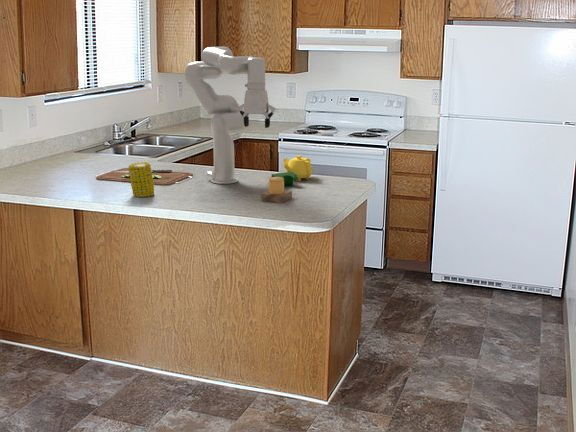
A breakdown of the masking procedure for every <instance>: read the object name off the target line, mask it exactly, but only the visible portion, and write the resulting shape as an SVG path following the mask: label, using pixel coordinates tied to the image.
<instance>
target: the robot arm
mask: <svg viewBox="0 0 576 432" xmlns="http://www.w3.org/2000/svg"><path fill="white" fill-rule="evenodd" d="M200 56H201V60H202V61H194V62H193V61H192V62H190V63H187V65H186V67H185V69H184V78H185V81H186V83H187V85H188V87H189V89H190V90H191V91H192V93H193V94H194V95H195V96H196V98H197V100H198V102H199V103H200V105H201V107H202V109H203V110H204V111H205V113H206V115H208V116H209V117H211V120H210V128H211V134H212V142H213V144H212V145H213V146H212V147H213V149H212V150H213V171H207V172H206V176H207V177H211V178H210V182H211V183H214V184H216V185H217V184H218V185H227V184H228V185H230V184H235V183H238V181H239V178H238V177H236V175H235V170H236V169H235V143H234V140H233V138H232V136H231V135H232V134H238V133H239V134H240V133H243V132H245V131H246V130H247V128H248V127H249V125H250V118H249V115H252V114H253V115H263V116H264V117H265V118H264V128H265V129H267V128H270V126H271V118H272V117H273V116H274V115H275V112H276V111H277V110H276V107H274V106H273V105H272V104H270V103H269V97H268V95H269V94H268V91H267V90H266V59H265V58H264V57H259V56H258V57H255V56H251V55H248V56H247V55H246V56H245V55H244V56H242V55H241V56H234V54H233V51H232V50H231V49H230V47H228V46H210V47H209V46H208V47H206V48H204V49H203V51H202V52H201V54H200ZM224 73H225V74H228V75H235V76H236V75H247V83H245V84H244V87H245V88H246V89H245V91H244V93H245V94H244V98H243V99H244V100H243V104H241V105H240V104H239V103H238V101H237V100H236V98H235V97H233V96H232V95H230V94H221V95H220V94H217V93H216V91H215V90H214V88H213V86H212V85H211V84H210V83H208V82H206V81H205V80H216V79H219V78H220V77H222V75H223V74H224ZM269 110H270V112H269ZM230 134H231V135H230Z"/></svg>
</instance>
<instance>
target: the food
mask: <svg viewBox="0 0 576 432" xmlns="http://www.w3.org/2000/svg"><path fill="white" fill-rule="evenodd" d="M128 168H129V173H130V181H131V183H130V186H131V189H132V190H131V192H132V195H133V196H134V197H137V198H143V197H144V198H146V197H153V196H155V185H154V183H153V178H152V171H151V170H152V167H151V164H150V163H149V162H147V161H141V162H133V163H131V164H129V165H128Z"/></svg>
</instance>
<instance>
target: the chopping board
mask: <svg viewBox="0 0 576 432" xmlns="http://www.w3.org/2000/svg"><path fill="white" fill-rule="evenodd" d="M151 171H152V178H153V183H154V186H163V187H166V186H167V187H168V186H172V185H174V184H177V185H179V184H181V183H184V182H187V181H189V180H191V179H194V178H195V176H194V174H193V172H185V171H173V170H172V169H151ZM95 179H96V180H98V181H108V182H119V183H129V184H131V181H130V173H129V167H122V168H119V169H112V170H110V171H106V172H104V173H100V174H97V175H95Z"/></svg>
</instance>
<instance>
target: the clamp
mask: <svg viewBox="0 0 576 432" xmlns="http://www.w3.org/2000/svg"><path fill="white" fill-rule="evenodd" d="M271 177H282V178H284V186H290V187H292V186H293V187H294V182H295V181H297V180H298V175H296V174H295V173H294V172H286V171H285V172H278V173H271ZM271 177H270V178H271Z"/></svg>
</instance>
